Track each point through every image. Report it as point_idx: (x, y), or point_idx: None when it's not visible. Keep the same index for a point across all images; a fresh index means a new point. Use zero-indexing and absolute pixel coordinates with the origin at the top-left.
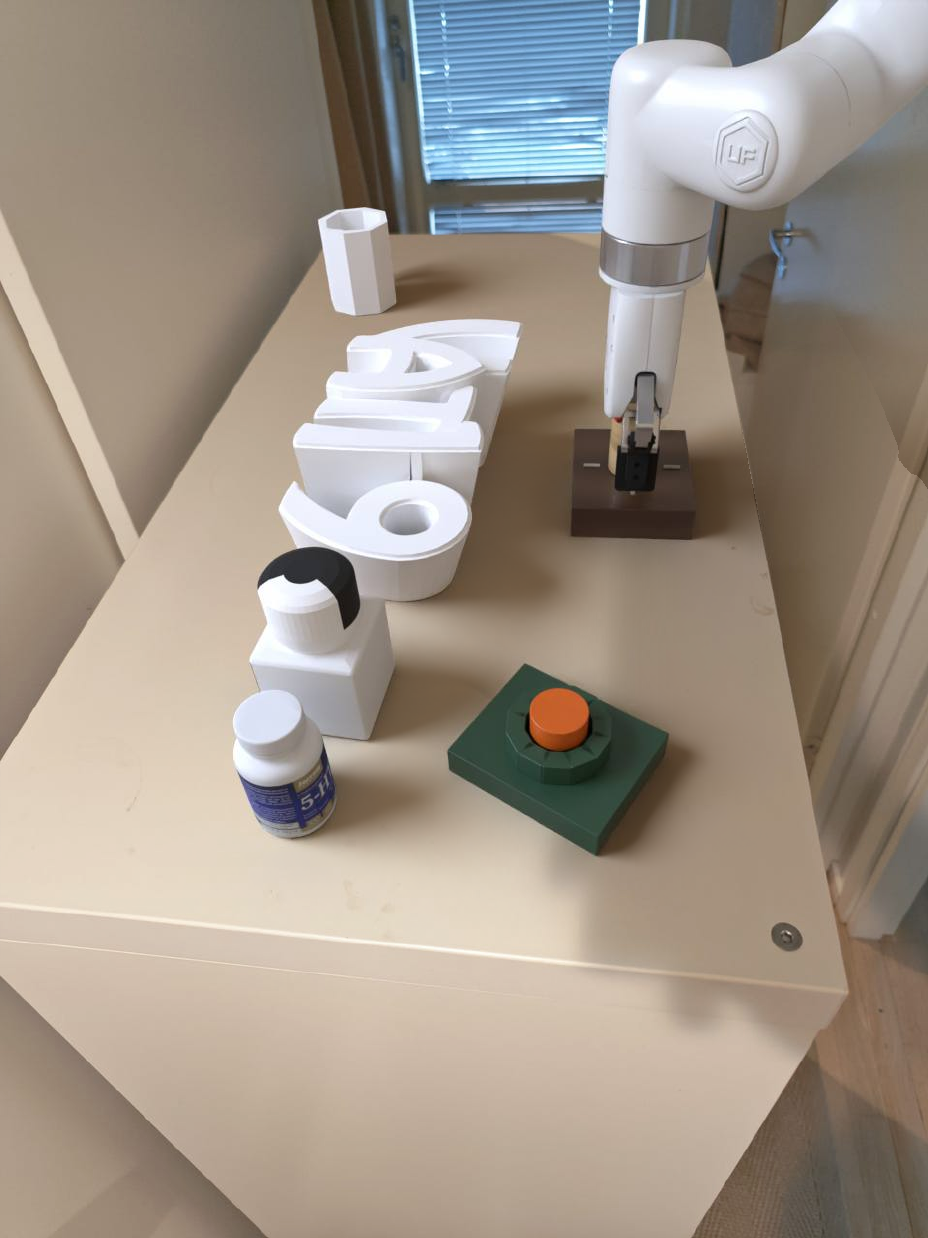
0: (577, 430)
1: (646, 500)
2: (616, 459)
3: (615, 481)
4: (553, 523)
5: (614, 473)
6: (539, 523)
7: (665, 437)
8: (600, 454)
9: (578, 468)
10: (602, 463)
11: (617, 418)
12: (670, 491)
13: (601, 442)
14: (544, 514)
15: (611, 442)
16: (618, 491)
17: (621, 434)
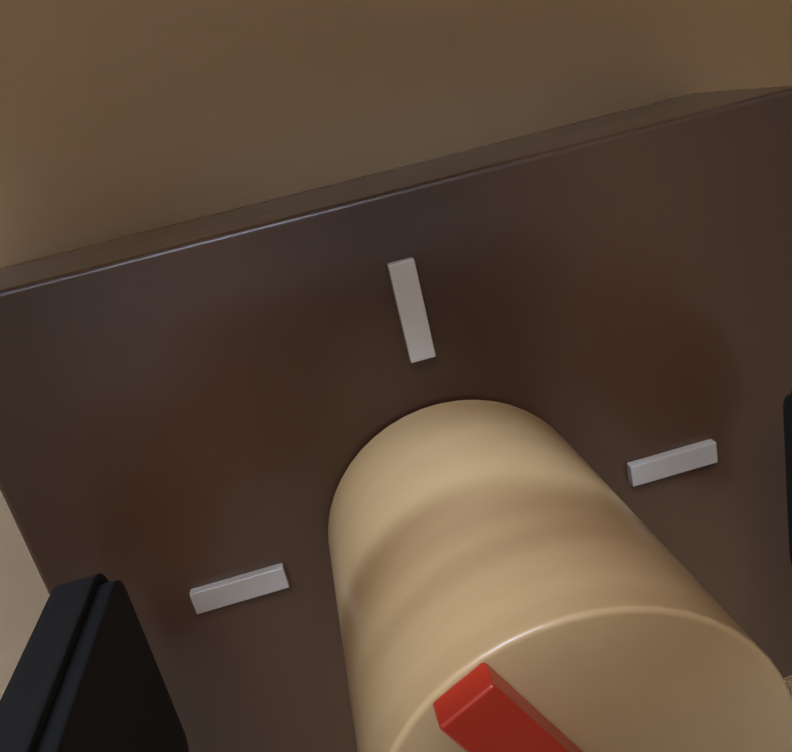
0: (789, 111)
1: (175, 668)
2: (9, 738)
3: (37, 622)
4: (71, 148)
5: (350, 467)
6: (38, 68)
7: (759, 600)
8: (544, 328)
9: (362, 235)
10: (452, 365)
11: (461, 722)
12: (295, 741)
13: (673, 298)
14: (130, 74)
15: (428, 519)
16: (205, 520)
17: (377, 685)
